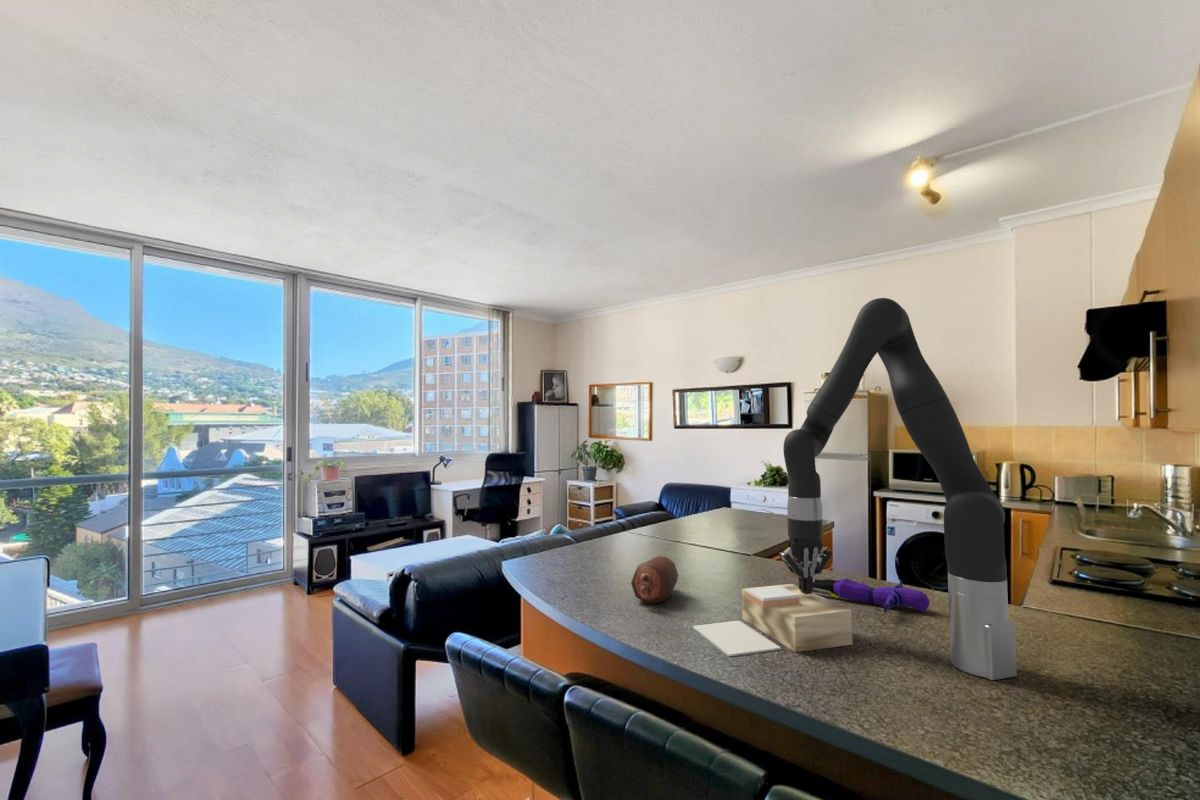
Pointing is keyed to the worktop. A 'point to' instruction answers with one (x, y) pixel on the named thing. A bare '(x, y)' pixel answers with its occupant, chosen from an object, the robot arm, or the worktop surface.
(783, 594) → the tile
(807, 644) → the block
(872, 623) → the worktop surface
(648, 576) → the meat
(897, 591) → the toy
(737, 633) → the mat
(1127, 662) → the worktop surface
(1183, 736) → the worktop surface
